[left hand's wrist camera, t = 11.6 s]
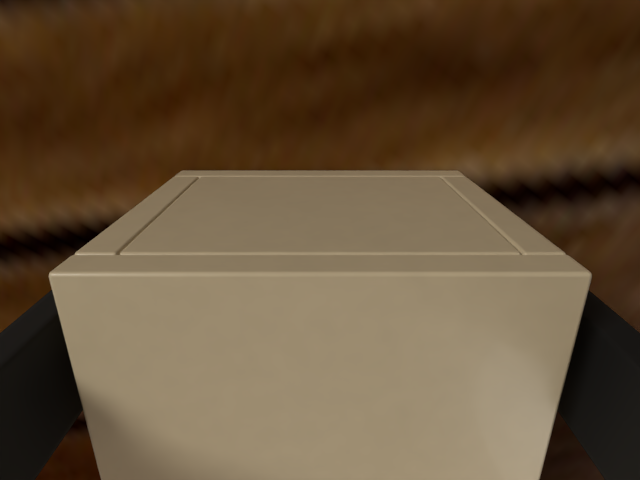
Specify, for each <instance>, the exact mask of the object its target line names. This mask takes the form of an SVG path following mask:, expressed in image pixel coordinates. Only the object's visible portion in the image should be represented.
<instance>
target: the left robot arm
mask: <svg viewBox="0 0 640 480" xmlns="http://www.w3.org/2000/svg"><path fill="white" fill-rule="evenodd" d="M82 410H83V407H82V403H81V400H80V396H79V392H78V388H77V384H76V380H75V376H74V372H73V369H72V365H71V361H70V357H69V353H68V349H67V345H66V341H65V338H64V334H63V330H62V326H61V322H60V318H59V314H58V310H57V307H56V303H55V299H54V295H53V291H52V290H51V291H50V292H49V293H47V294H46V295H45V296H44V297H43V298H42V299H40V300H39V301H38V302H37V303H36V304H34V305H33V306H32V307H31V308H30V309H28V310H27V311H26V312H25V313H24V314H22V315H21V316H20V317H19V318H18V319H17V320H15V321H14V322H13V323H12V324H11V325H9V326H8V327H7V328H6V329H5V330H3V331H2V332H1V333H0V480H35V479H36V477H37V476H38V474H39V473H40V471H41V470H42V468H43V467H44V466H45V464H46V463H47V461H48V460H49V458H50V457H51V455H52V454H53V452H54V451H55V450H56V448H57V447H58V445H59V444H60V442H61V441H62V439H63V438H64V436H65V435H66V434H67V432H68V431H69V429H70V428H71V426H72V425H73V423H74V422H75V420H76V419H77V417H78V416H79V415H80V413H81V412H82ZM558 412H559V413H560V415H561V416H562V418H563V419H564V420H565V422H566V423H567V425H568V426H569V428H570V429H571V431H572V432H573V434H574V435H575V436H576V438H577V439H578V441H579V442H580V444H581V445H582V447H583V448H584V450H585V451H586V452H587V454H588V455H589V457H590V458H591V460H592V461H593V463H594V464H595V466H596V467H597V468H598V470H599V471H600V473H601V474H602V476H603V477H604V479H605V480H640V333H639V332H638V331H637V330H635V329H634V328H633V327H632V326H631V325H629V324H628V323H627V322H626V321H625V320H623V319H622V318H621V317H620V316H619V315H618V314H616V313H615V312H614V311H613V310H612V309H610V308H609V307H608V306H607V305H606V304H604V303H603V302H602V301H601V300H600V299H598V298H597V297H596V296H595V295H594V294H593V293H591V292H590V291H589V290H588V294H587V298H586V302H585V306H584V310H583V313H582V317H581V321H580V325H579V329H578V333H577V337H576V340H575V344H574V348H573V352H572V356H571V360H570V364H569V367H568V371H567V375H566V379H565V383H564V387H563V391H562V394H561V398H560V402H559V406H558Z"/></svg>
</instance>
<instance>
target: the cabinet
mask: <svg viewBox="0 0 640 480" xmlns="http://www.w3.org/2000/svg"><path fill="white" fill-rule="evenodd" d="M49 279H50V283H51V287H52V291H53V295H54V299H55V303H56V307H57V310H58V314H59V318H60V322H61V326H62V330H63V334H64V338H65V341H66V345H67V349H68V353H69V357H70V361H71V365H72V369H73V372H74V376H75V380H76V384H77V388H78V392H79V396H80V400H81V403H82V407H83V411H84V415H85V419H86V423H87V427H88V431H89V434H90V438H91V442H92V446H93V450H94V454H95V458H96V462H97V465H98V469H99V473H100V477H101V480H539V479H540V475H541V471H542V468H543V464H544V460H545V456H546V452H547V448H548V444H549V441H550V437H551V433H552V429H553V425H554V421H555V418H556V414H557V410H558V406H559V402H560V398H561V394H562V391H563V387H564V383H565V379H566V375H567V371H568V367H569V364H570V360H571V356H572V352H573V348H574V344H575V340H576V337H577V333H578V329H579V325H580V321H581V317H582V313H583V310H584V306H585V302H586V298H587V294H588V290H589V286H590V283H591V279H592V274H591V272H590V271H589V270H587V269H586V268H585V267H583V266H582V265H581V264H579V263H578V262H577V261H575V260H574V259H573V258H572V257H570V256H568V255H566V254H565V252H564V251H562V250H561V249H560V248H558V247H557V246H556V245H554V244H553V243H552V242H551V241H549V240H548V239H547V238H545V237H544V236H543V235H541V234H540V233H539V232H537V231H536V230H535V229H534V228H532V227H531V226H530V225H528V224H527V223H526V222H524V221H523V220H522V219H521V218H519V217H518V216H517V215H515V214H514V213H513V212H511V211H510V210H509V209H507V208H506V207H505V206H504V205H502V204H501V203H500V202H498V201H497V200H496V199H494V198H493V197H492V196H490V195H489V194H488V193H487V192H485V191H484V190H483V189H481V188H480V187H479V186H477V185H476V184H475V183H474V182H472V181H471V180H470V179H468V178H467V177H465V175H463V174H462V173H461V172H459V171H181V172H180V173H178V174H177V175H176V176H175V177H173V178H172V179H170V180H169V181H168V182H167V183H165V184H164V185H163V186H161V187H160V188H159V189H157V190H156V191H155V192H154V193H152V194H151V195H150V196H148V197H147V198H146V199H144V200H143V201H142V202H141V203H139V204H138V205H137V206H135V207H134V208H133V209H131V210H130V211H129V212H128V213H126V214H125V215H124V216H122V217H121V218H120V219H118V220H117V221H116V222H115V223H113V224H112V225H111V226H109V227H108V228H107V229H106V230H104V231H103V232H102V233H100V234H99V235H98V236H96V237H95V238H94V239H93V240H91V241H90V242H89V243H87V244H86V245H85V246H83V247H82V248H81V249H80V250H78V251H77V252H76V253H75V255H73V256H71V257H69V258H68V259H67V260H65V261H64V262H63V263H61V264H60V265H59V266H58V267H56V268H55V269H54V270H52V271H51V272H50V273H49Z"/></svg>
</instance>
